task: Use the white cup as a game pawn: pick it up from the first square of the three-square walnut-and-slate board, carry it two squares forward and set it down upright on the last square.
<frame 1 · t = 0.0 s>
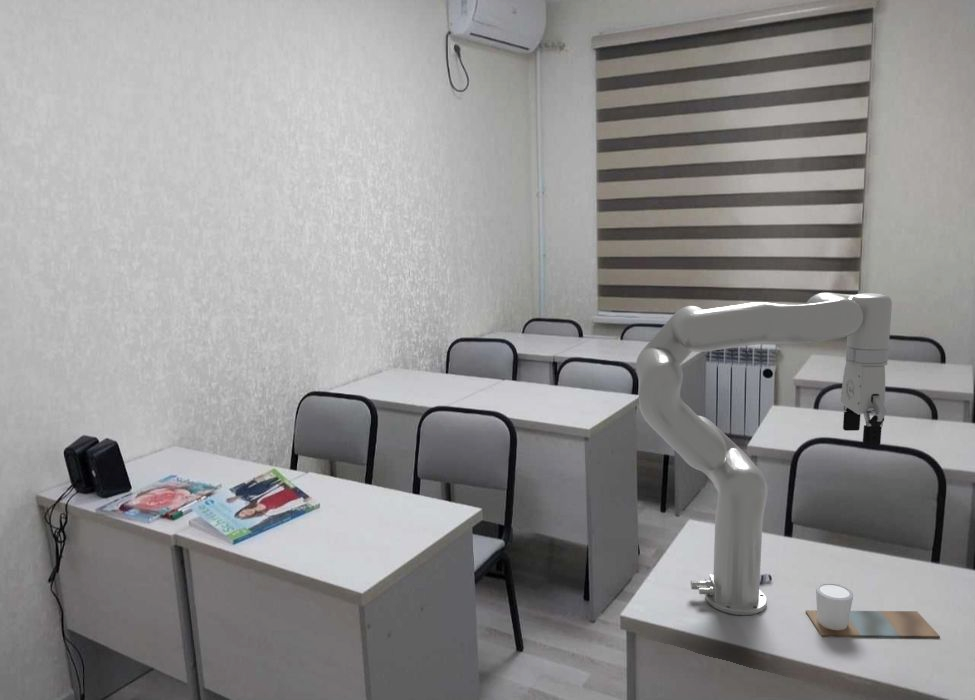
hand: (860, 437, 154), 37 cm above the table, tool pointing down, fingers open, 9 cm apart
game board: (870, 624, 152), on the table
white cup: (832, 623, 152), resting on game board
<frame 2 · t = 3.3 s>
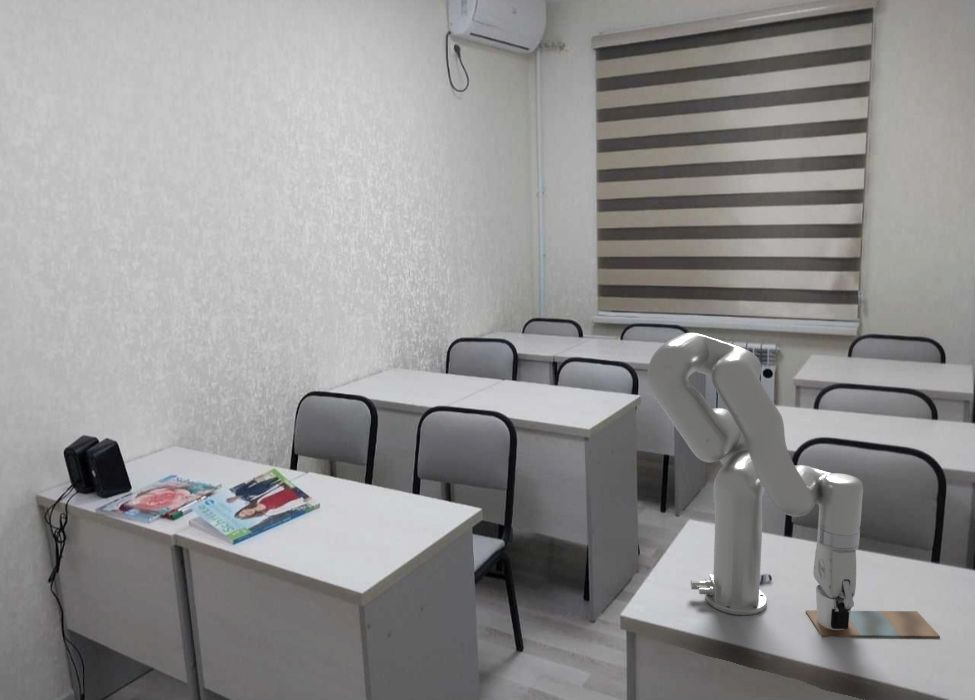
hand: (832, 618, 152), 1 cm above the table, tool pointing down, fingers closed on white cup, 6 cm apart
white cup: (832, 623, 152), resting on game board, touching gripper
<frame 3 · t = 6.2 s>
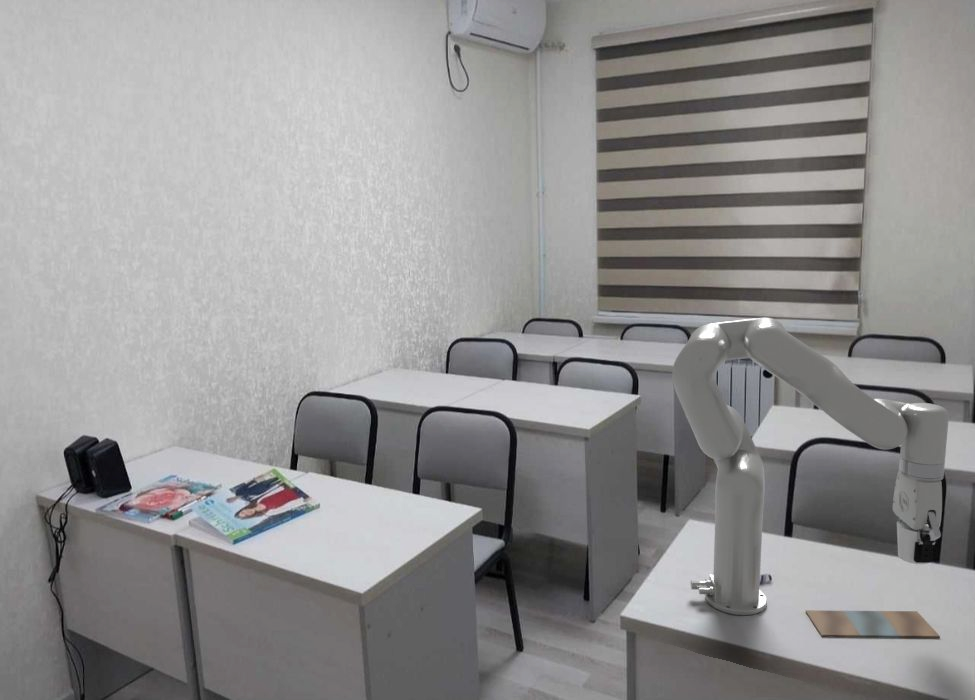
hand: (914, 553, 148), 16 cm above the table, tool pointing down, fingers closed on white cup, 5 cm apart
white cup: (914, 558, 148), point 15 cm above the table, touching gripper
when the fingers open (2 cm above the table, at t = 9.6 s): white cup drops 1 cm, resting on game board.
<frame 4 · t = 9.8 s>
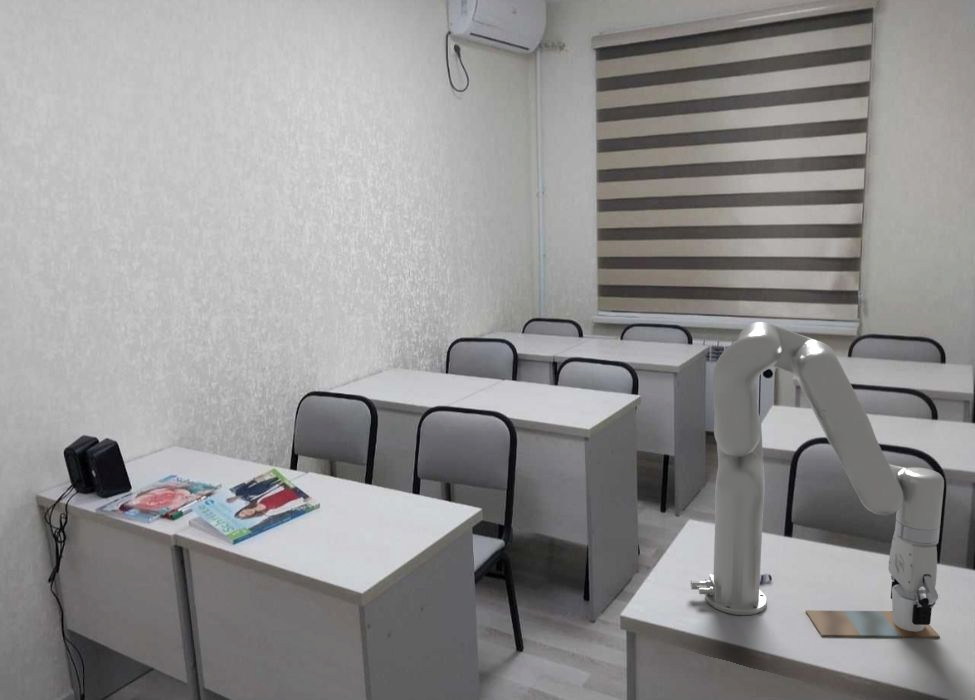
hand: (909, 611, 151), 3 cm above the table, tool pointing down, fingers open, 8 cm apart
white cup: (908, 624, 151), resting on game board
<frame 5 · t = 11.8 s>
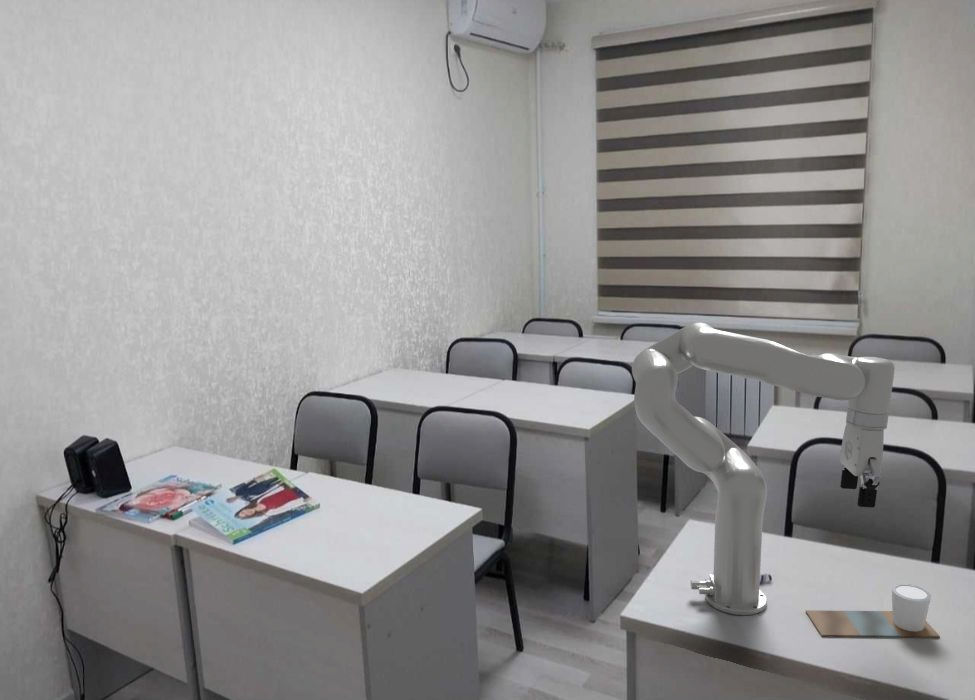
hand: (856, 497, 156), 24 cm above the table, tool pointing down, fingers open, 9 cm apart
nothing on the table moved.
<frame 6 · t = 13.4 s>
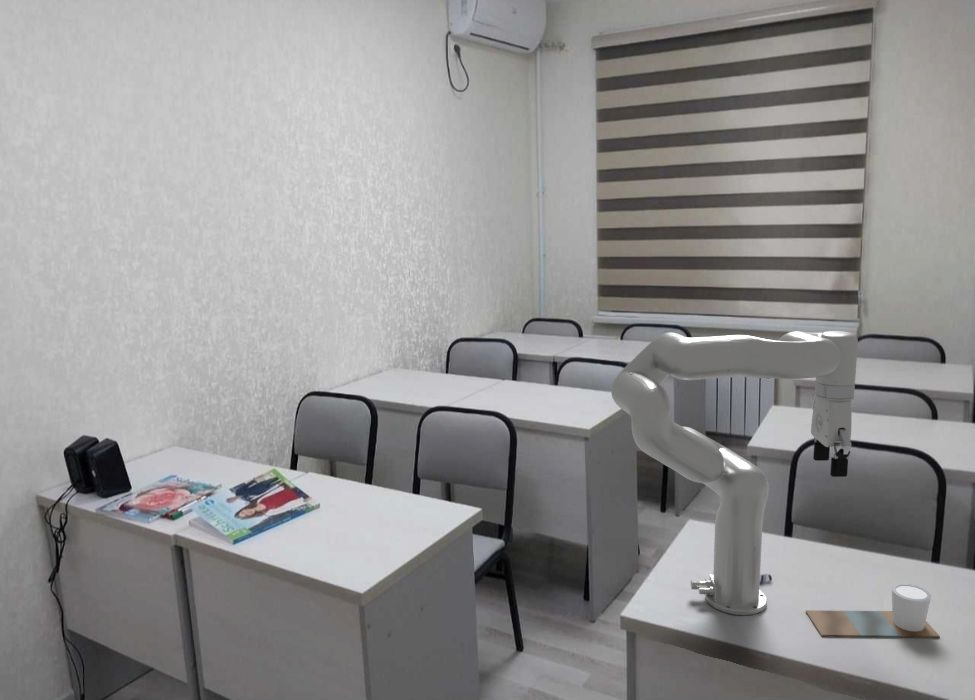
hand: (829, 467, 160), 28 cm above the table, tool pointing down, fingers open, 9 cm apart
nothing on the table moved.
at the end: white cup 0.3 cm from the target spot on the game board, point 0.2 cm above the game board's base; white cup tilted 0°; the gripper is holding nothing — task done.
